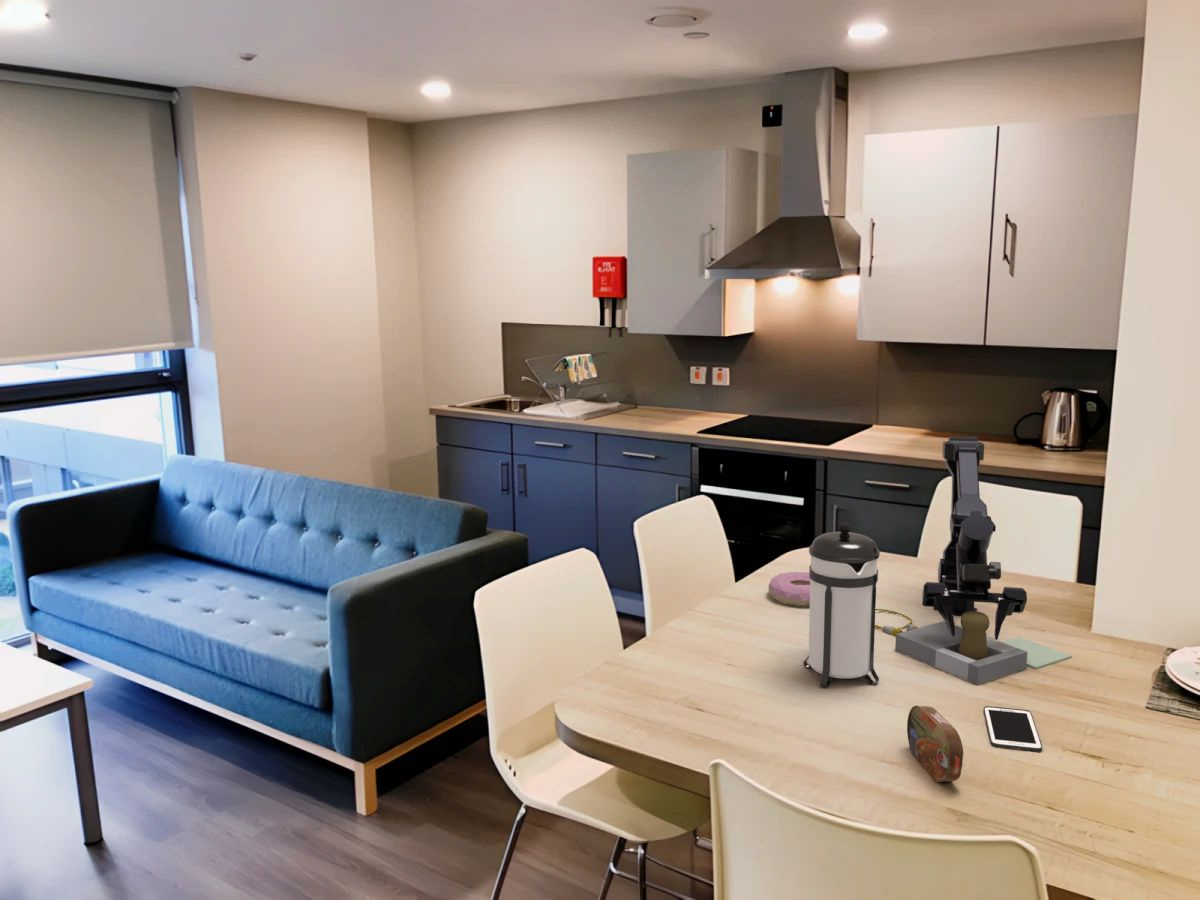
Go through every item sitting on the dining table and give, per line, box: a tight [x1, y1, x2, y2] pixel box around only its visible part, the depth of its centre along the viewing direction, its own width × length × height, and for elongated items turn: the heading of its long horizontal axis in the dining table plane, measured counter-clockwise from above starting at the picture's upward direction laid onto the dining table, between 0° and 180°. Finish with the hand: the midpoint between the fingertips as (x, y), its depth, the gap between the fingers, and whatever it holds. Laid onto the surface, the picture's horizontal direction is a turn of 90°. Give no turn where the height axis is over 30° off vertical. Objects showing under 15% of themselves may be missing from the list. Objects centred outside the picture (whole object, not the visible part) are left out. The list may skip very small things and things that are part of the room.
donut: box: [768, 571, 810, 607], centre depth 230 cm, size 16×15×5 cm
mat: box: [1001, 636, 1073, 670], centre depth 195 cm, size 12×11×1 cm
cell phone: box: [983, 705, 1043, 753], centre depth 163 cm, size 8×15×1 cm, turn 164°
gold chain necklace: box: [875, 608, 919, 637], centre depth 212 cm, size 12×16×2 cm
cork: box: [958, 610, 990, 661], centre depth 187 cm, size 6×6×11 cm
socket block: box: [894, 620, 1028, 686], centre depth 192 cm, size 20×14×4 cm
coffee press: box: [803, 521, 881, 688], centre depth 184 cm, size 17×16×30 cm
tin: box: [906, 705, 964, 783], centre depth 150 cm, size 15×3×8 cm, turn 5°
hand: (974, 637), depth 186 cm, fingers open, 7 cm apart
